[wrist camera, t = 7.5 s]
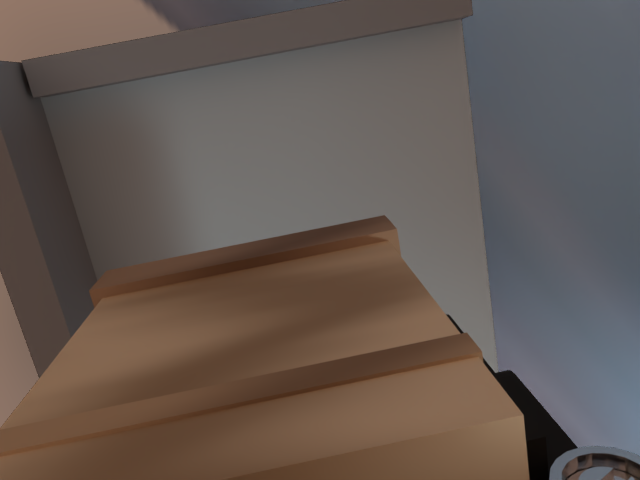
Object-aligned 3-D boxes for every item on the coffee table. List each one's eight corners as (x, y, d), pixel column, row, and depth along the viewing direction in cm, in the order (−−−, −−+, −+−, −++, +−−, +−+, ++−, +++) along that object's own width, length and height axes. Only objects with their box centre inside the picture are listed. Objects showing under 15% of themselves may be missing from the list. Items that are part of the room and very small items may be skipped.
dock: (434, -4, 19) (496, -38, 14) (481, 402, 23) (542, 495, 18) (25, 73, 19) (-74, 67, 13) (151, 471, 23) (114, 586, 18)
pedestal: (384, 214, 12) (543, 391, 5) (421, 450, 14) (578, 825, 7) (106, 270, 12) (-126, 533, 5) (177, 502, 13) (80, 946, 6)
